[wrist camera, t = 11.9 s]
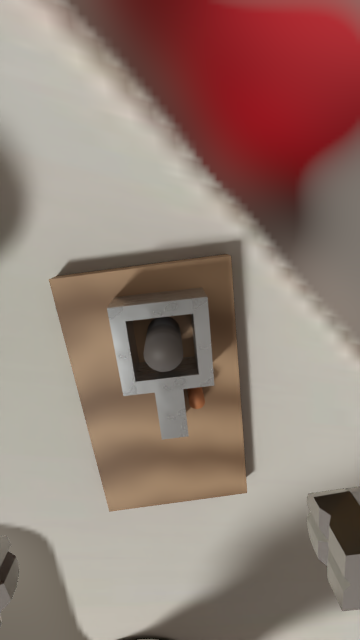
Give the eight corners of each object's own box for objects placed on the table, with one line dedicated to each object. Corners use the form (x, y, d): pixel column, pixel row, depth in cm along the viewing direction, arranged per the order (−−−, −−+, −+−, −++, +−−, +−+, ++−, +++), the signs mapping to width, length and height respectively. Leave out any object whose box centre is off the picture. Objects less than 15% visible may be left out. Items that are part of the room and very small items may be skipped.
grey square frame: (114, 297, 22) (106, 308, 19) (202, 287, 22) (207, 296, 19) (136, 418, 25) (132, 443, 22) (212, 409, 25) (218, 432, 22)
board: (243, 479, 29) (260, 536, 24) (112, 497, 29) (100, 558, 24) (226, 253, 22) (245, 262, 17) (56, 276, 22) (22, 292, 17)
